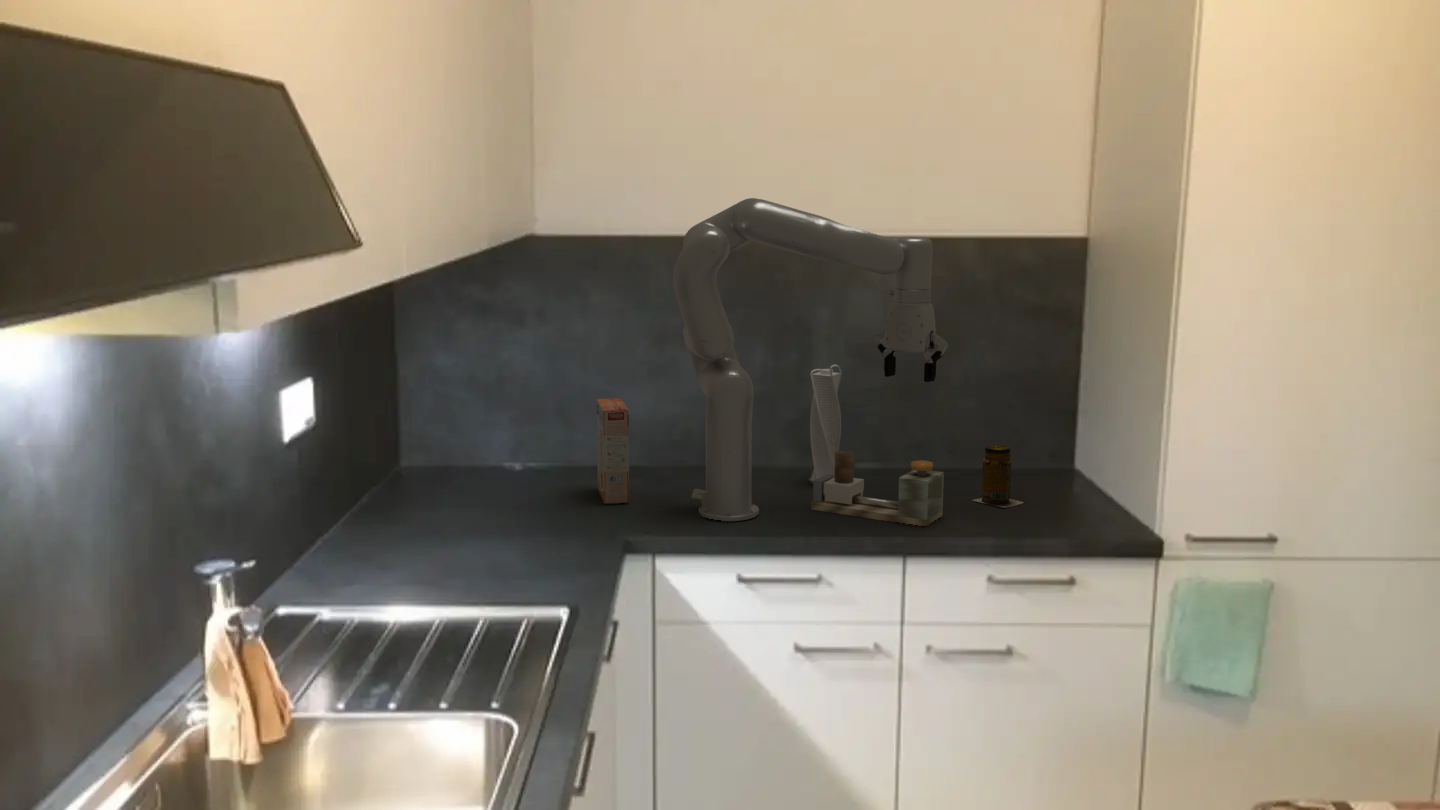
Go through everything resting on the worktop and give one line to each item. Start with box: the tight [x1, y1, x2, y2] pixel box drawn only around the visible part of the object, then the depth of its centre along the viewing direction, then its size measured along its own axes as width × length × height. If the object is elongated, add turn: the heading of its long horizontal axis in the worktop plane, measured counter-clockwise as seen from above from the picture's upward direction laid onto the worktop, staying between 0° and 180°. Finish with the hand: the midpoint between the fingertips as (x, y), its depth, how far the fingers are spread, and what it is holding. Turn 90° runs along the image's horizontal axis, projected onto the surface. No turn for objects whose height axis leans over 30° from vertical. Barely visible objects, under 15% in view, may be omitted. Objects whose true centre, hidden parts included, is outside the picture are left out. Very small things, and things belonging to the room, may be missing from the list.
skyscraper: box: [807, 364, 843, 484], centre depth 288 cm, size 8×8×28 cm
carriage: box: [824, 450, 865, 504], centre depth 269 cm, size 6×7×10 cm
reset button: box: [910, 459, 934, 477], centre depth 260 cm, size 4×4×3 cm
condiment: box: [972, 444, 1025, 508], centre depth 274 cm, size 7×8×12 cm
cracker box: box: [596, 397, 630, 505], centre depth 279 cm, size 14×6×21 cm, turn 11°
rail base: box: [810, 470, 945, 527], centre depth 266 cm, size 26×9×10 cm, turn 58°
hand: (909, 378), depth 267 cm, fingers open, 9 cm apart
